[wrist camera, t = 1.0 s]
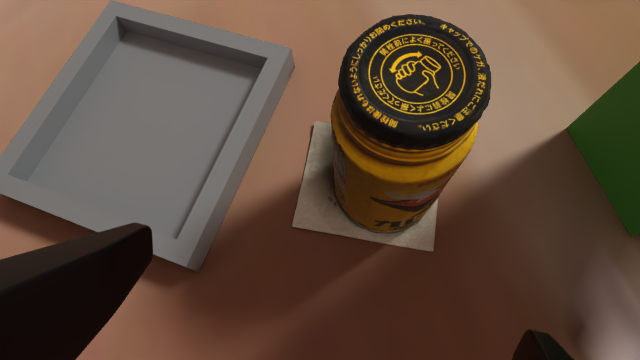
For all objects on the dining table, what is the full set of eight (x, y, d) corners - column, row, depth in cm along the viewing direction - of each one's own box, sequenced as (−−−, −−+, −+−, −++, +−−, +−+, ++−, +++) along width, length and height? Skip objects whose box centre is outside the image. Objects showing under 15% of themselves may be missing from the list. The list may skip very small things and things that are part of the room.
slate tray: (198, 272, 23) (185, 267, 21) (6, 195, 26) (-21, 185, 24) (294, 67, 28) (291, 48, 26) (125, 20, 30) (110, 0, 29)
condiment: (432, 252, 23) (517, 177, 12) (292, 227, 24) (245, 137, 13) (443, 141, 25) (521, -8, 14) (315, 123, 26) (293, -29, 15)
